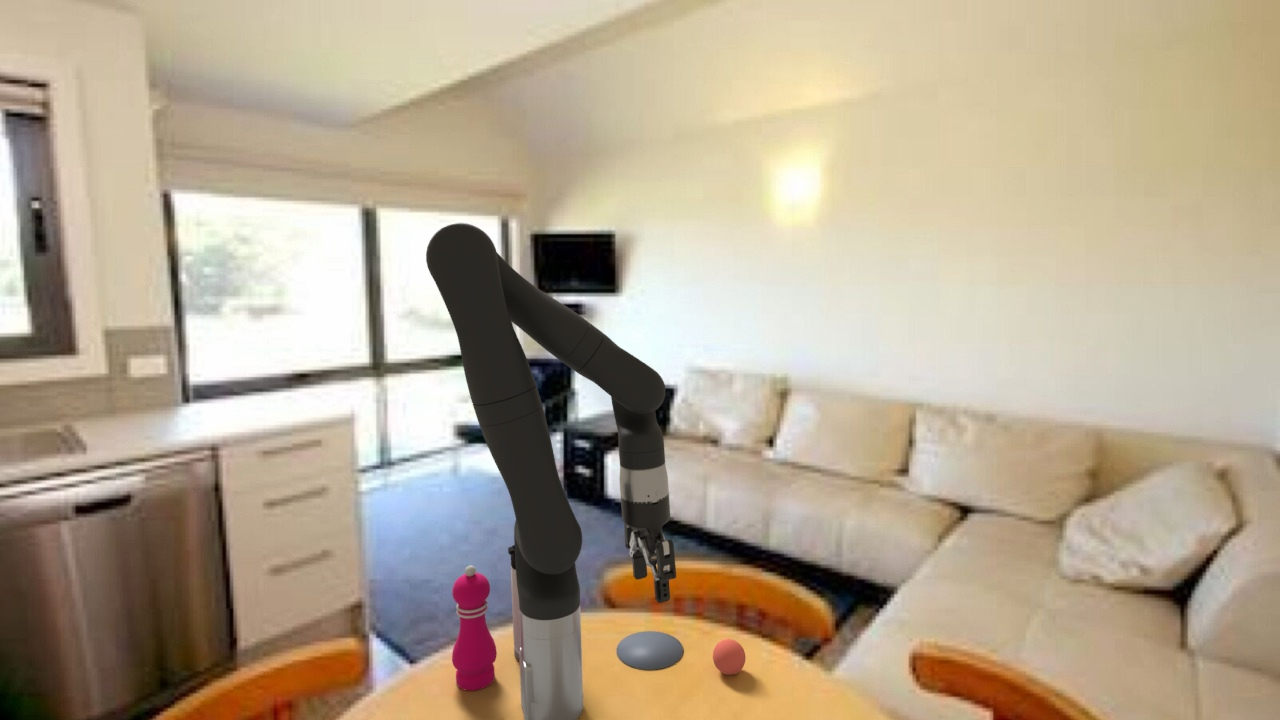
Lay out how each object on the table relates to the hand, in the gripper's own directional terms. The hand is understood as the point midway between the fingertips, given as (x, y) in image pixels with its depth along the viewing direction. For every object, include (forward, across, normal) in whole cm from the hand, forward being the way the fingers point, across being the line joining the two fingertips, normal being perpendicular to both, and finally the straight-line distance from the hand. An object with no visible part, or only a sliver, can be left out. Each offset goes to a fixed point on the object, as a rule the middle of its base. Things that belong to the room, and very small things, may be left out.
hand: (651, 589), depth 103 cm
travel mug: (+17, -19, -16) cm, 30 cm away
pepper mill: (+16, -15, -27) cm, 35 cm away
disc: (+18, -11, +3) cm, 21 cm away
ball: (+15, +1, +13) cm, 20 cm away
